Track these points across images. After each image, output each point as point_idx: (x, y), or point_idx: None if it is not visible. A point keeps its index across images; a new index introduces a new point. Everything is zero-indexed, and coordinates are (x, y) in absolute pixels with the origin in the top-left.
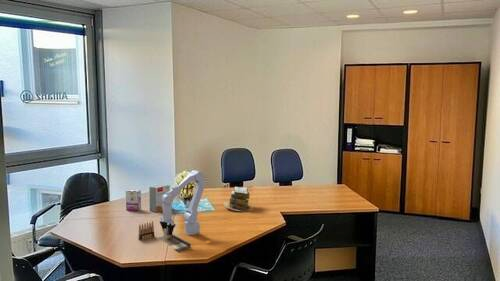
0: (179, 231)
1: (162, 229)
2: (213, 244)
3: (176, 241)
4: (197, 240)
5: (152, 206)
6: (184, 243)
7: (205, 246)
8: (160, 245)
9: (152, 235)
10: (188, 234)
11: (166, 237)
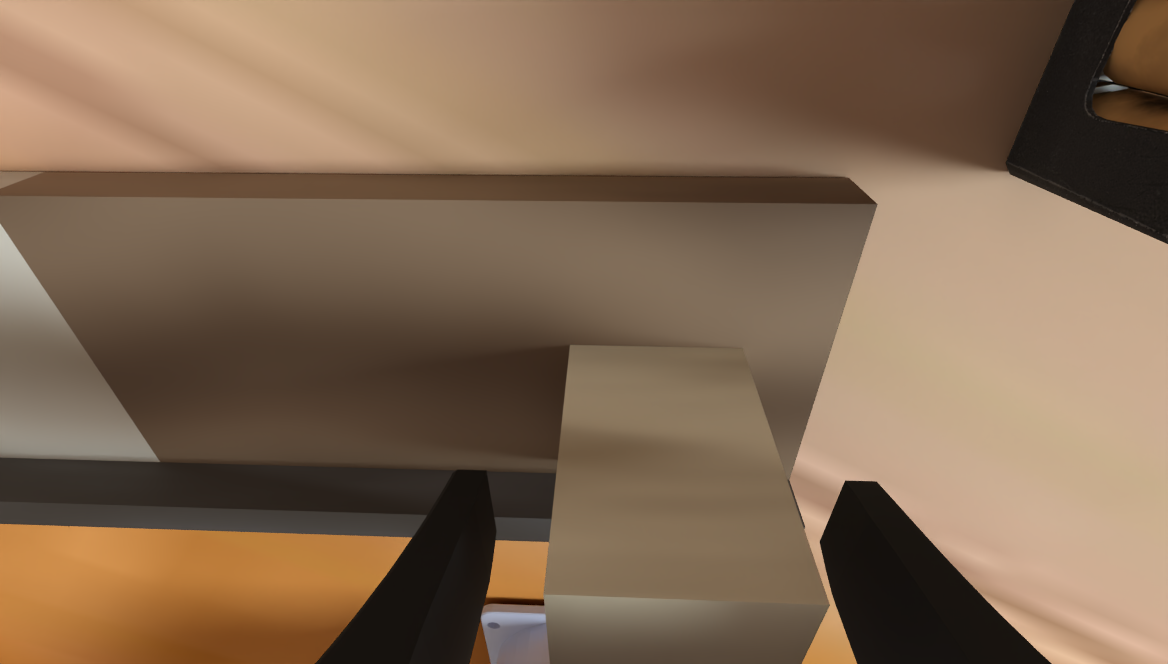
0: (846, 637)
1: (933, 547)
2: (105, 652)
3: (291, 425)
4: (329, 619)
5: None
6: (63, 469)
7: (44, 587)
8: (378, 27)
9: (1149, 128)
10: (524, 659)
11: (569, 375)
